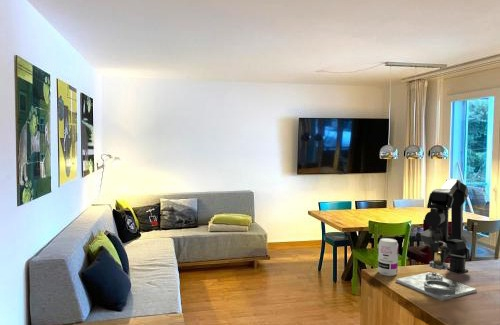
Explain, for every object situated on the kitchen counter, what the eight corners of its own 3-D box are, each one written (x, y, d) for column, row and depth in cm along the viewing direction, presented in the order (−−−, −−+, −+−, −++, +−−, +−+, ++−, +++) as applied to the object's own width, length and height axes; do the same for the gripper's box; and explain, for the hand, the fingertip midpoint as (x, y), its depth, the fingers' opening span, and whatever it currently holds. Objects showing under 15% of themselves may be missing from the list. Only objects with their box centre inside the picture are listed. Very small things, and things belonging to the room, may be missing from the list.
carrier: (428, 274, 175) (429, 266, 175) (476, 292, 156) (476, 282, 156) (395, 281, 167) (396, 272, 166) (441, 301, 147) (442, 290, 147)
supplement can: (394, 270, 181) (395, 238, 180) (399, 276, 173) (400, 242, 172) (376, 269, 182) (377, 237, 181) (380, 276, 174) (381, 242, 173)
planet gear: (436, 263, 161) (437, 249, 161) (451, 268, 156) (451, 253, 155) (426, 265, 159) (426, 251, 158) (439, 270, 153) (440, 255, 152)
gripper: (406, 219, 161) (405, 257, 162) (447, 229, 144) (445, 271, 145) (425, 217, 166) (424, 254, 167) (467, 226, 149) (465, 267, 150)
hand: (438, 261), depth 157 cm, fingers closed on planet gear, 3 cm apart
